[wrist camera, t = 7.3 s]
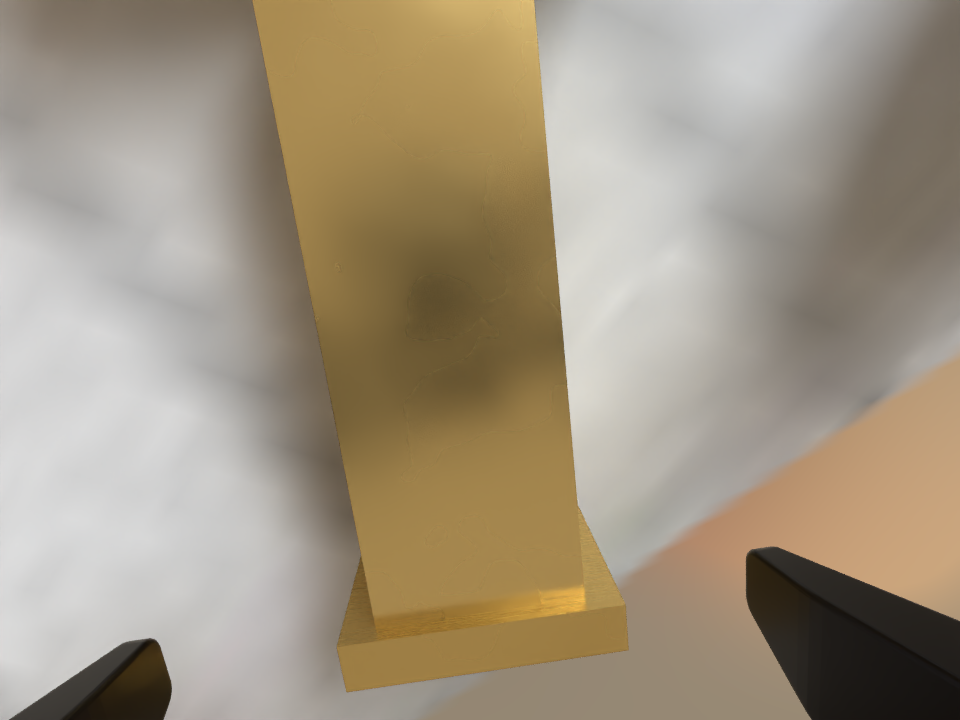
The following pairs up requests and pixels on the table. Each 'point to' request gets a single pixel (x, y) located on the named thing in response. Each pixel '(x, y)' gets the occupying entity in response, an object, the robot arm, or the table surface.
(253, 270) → the table surface
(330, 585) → the table surface
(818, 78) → the table surface
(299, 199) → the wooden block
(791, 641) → the robot arm
